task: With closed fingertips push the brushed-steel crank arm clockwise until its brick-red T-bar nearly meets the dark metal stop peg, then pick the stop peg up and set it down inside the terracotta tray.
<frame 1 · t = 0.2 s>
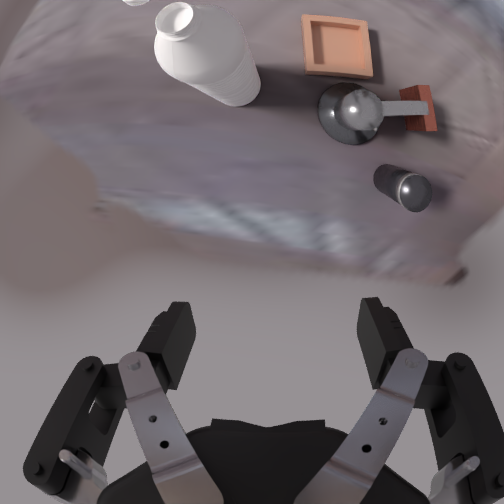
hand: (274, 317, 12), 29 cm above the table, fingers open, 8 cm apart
tray: (334, 48, 29), on the table
water bottle: (232, 80, 33), on the table
stop peg: (386, 178, 36), on the table
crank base: (349, 113, 33), on the table
crank: (383, 109, 28), point 4 cm above the table, hinge at 100.0°
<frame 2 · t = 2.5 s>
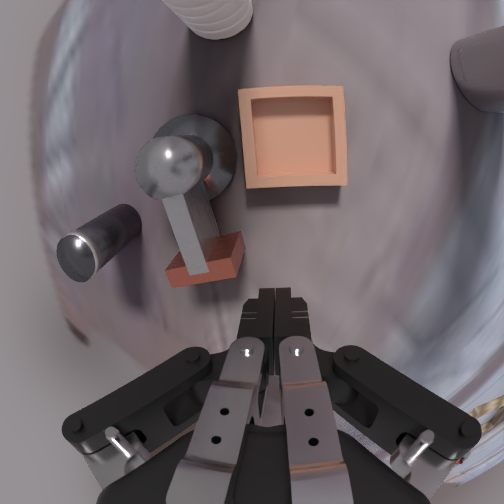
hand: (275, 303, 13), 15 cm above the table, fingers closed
tray: (293, 135, 24), on the table
water bottle: (229, 9, 19), on the table
food plate: (442, 463, 60), on the table
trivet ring: (483, 416, 44), on the table
stop peg: (125, 222, 29), on the table
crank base: (191, 158, 26), on the table
crank: (189, 204, 23), point 4 cm above the table, hinge at 100.0°
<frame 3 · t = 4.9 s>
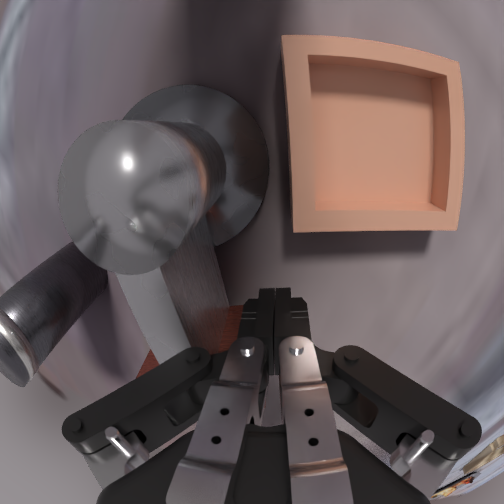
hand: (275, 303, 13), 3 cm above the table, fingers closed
tray: (372, 133, 12), on the table
food plate: (452, 483, 49), on the table
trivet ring: (501, 443, 33), on the table
stop peg: (83, 268, 17), on the table
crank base: (184, 168, 14), on the table
crank: (176, 265, 12), point 4 cm above the table, hinge at 96.8°, touching gripper
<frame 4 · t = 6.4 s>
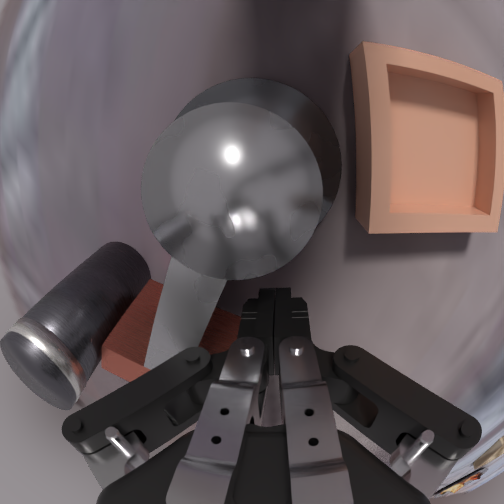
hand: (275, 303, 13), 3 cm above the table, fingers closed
tray: (428, 141, 12), on the table
food plate: (461, 480, 48), on the table
stop peg: (122, 272, 17), on the table
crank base: (250, 165, 14), on the table
crank: (207, 260, 11), point 4 cm above the table, hinge at 62.8°, touching gripper
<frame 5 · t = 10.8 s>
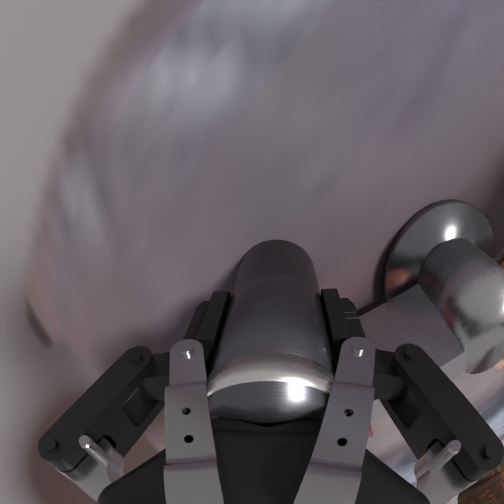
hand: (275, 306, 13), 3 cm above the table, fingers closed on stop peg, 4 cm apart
clay pot: (482, 461, 38), on the table
stop peg: (276, 275, 16), on the table, touching gripper
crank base: (441, 266, 15), on the table
crank: (420, 336, 12), point 4 cm above the table, hinge at 62.7°
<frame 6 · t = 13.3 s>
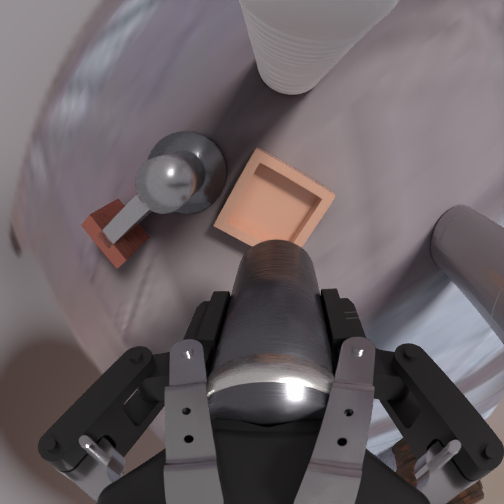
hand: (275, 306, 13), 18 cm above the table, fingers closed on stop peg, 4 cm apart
clay pot: (425, 437, 53), on the table
tray: (273, 203, 29), on the table
water bottle: (300, 66, 23), on the table
stop peg: (276, 274, 16), point 15 cm above the table, touching gripper
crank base: (185, 172, 28), on the table
crank: (147, 202, 26), point 4 cm above the table, hinge at 65.4°
when the fingers open (5 cm above the table, at t = 16.1 s): stop peg drops 1 cm, resting on tray.
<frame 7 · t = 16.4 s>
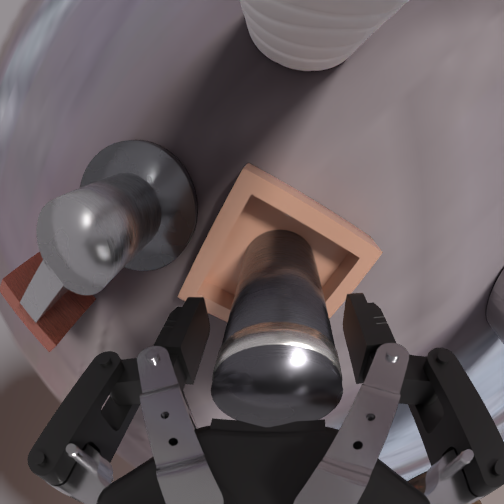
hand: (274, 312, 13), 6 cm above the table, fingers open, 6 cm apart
clay pot: (436, 473, 41), on the table
tray: (276, 258, 18), on the table
water bottle: (321, 27, 12), on the table
stop peg: (279, 262, 17), point 1 cm above the table, touching tray
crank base: (135, 206, 17), on the table
crank: (73, 260, 15), point 4 cm above the table, hinge at 65.4°
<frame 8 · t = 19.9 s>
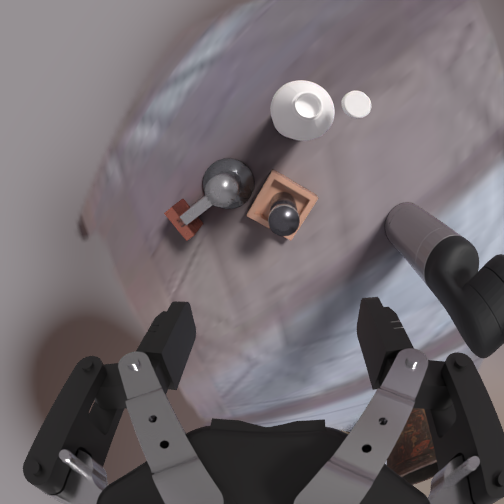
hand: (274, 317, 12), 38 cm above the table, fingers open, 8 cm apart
clay pot: (409, 401, 71), on the table
tray: (281, 203, 49), on the table
water bottle: (298, 119, 42), on the table
stop peg: (283, 203, 48), point 1 cm above the table, touching tray
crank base: (228, 183, 48), on the table
crank: (207, 200, 45), point 4 cm above the table, hinge at 65.4°
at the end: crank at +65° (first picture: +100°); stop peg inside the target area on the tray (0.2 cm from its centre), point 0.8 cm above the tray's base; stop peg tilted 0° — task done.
